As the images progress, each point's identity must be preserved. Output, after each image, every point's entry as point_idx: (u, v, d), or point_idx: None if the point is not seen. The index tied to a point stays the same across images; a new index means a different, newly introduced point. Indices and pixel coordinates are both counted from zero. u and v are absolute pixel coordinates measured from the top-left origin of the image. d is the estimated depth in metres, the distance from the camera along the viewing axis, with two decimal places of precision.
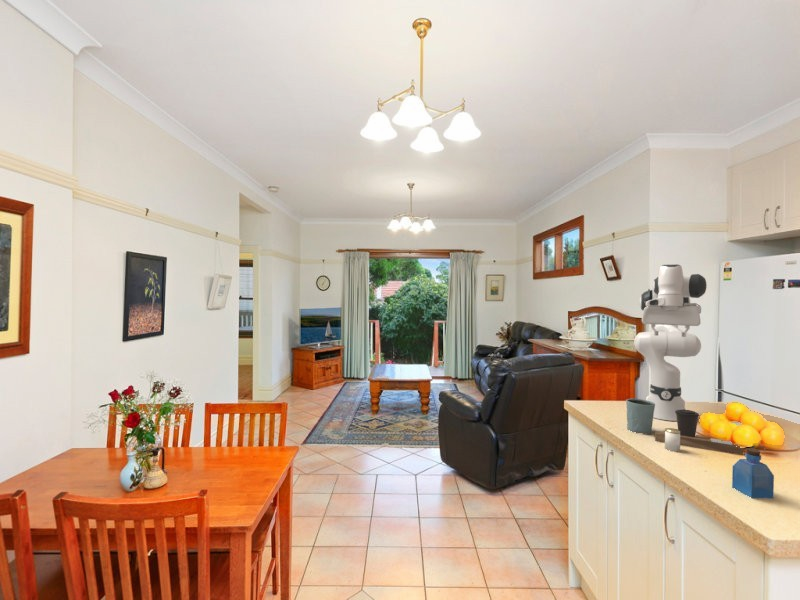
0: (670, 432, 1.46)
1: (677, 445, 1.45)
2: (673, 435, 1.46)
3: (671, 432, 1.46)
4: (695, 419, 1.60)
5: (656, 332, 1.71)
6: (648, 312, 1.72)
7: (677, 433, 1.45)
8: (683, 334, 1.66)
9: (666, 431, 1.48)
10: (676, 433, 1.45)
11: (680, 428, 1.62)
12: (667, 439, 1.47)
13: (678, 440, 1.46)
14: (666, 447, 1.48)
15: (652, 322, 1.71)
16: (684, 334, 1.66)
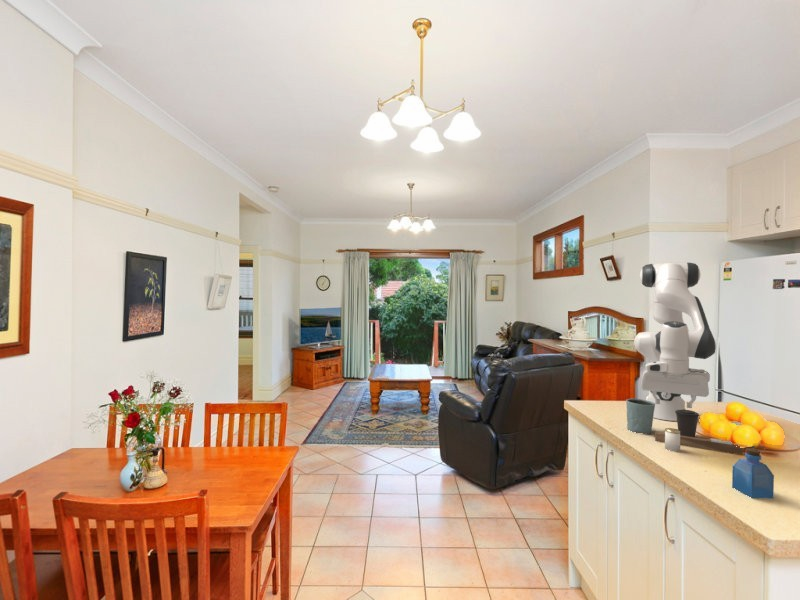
0: (670, 432, 1.46)
1: (677, 445, 1.45)
2: (673, 435, 1.46)
3: (671, 432, 1.46)
4: (695, 419, 1.59)
5: (657, 401, 1.49)
6: (649, 377, 1.50)
7: (677, 433, 1.45)
8: (688, 405, 1.44)
9: (666, 431, 1.48)
10: (676, 433, 1.45)
11: (680, 428, 1.62)
12: (667, 439, 1.47)
13: (678, 440, 1.46)
14: (666, 447, 1.48)
15: (653, 389, 1.49)
16: (690, 405, 1.44)
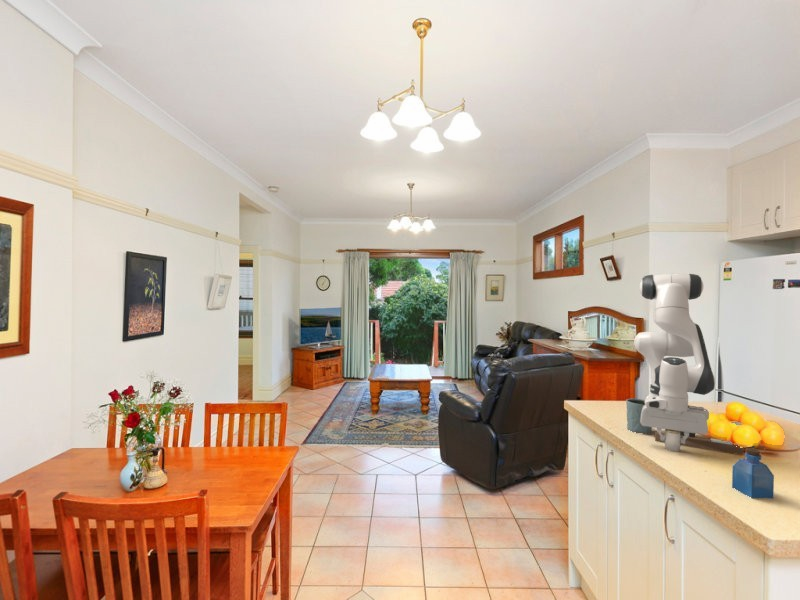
0: (670, 432, 1.46)
1: (677, 445, 1.45)
2: (673, 435, 1.46)
3: (671, 432, 1.46)
4: None
5: (662, 437, 1.48)
6: (648, 413, 1.50)
7: (677, 433, 1.45)
8: (682, 441, 1.46)
9: (666, 431, 1.48)
10: (676, 433, 1.45)
11: None
12: (667, 439, 1.47)
13: (678, 440, 1.46)
14: (666, 447, 1.48)
15: (652, 425, 1.49)
16: (683, 441, 1.45)
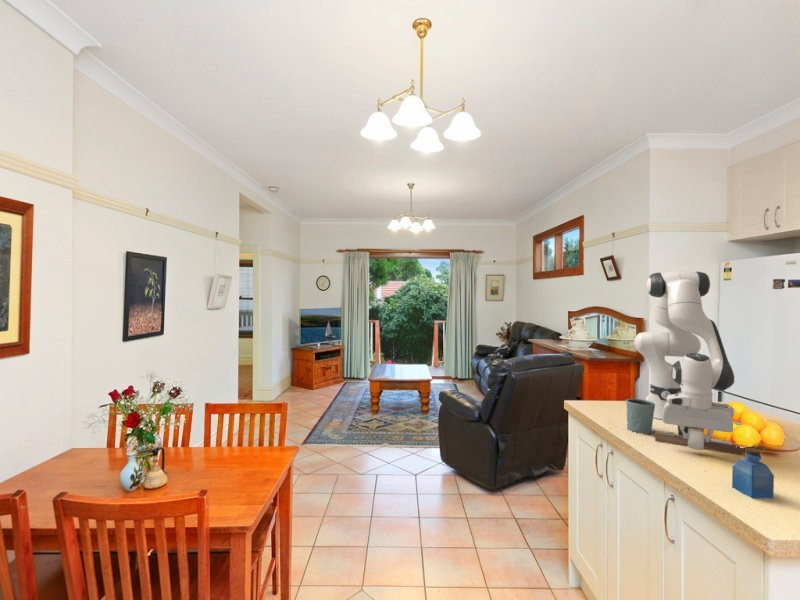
0: (693, 430, 1.43)
1: (701, 443, 1.42)
2: (697, 433, 1.42)
3: (695, 430, 1.43)
4: None
5: (685, 435, 1.45)
6: (670, 411, 1.46)
7: (701, 431, 1.42)
8: (705, 439, 1.42)
9: (689, 429, 1.44)
10: (700, 431, 1.42)
11: None
12: (690, 437, 1.44)
13: (702, 438, 1.42)
14: (689, 445, 1.44)
15: (675, 423, 1.46)
16: (707, 439, 1.42)
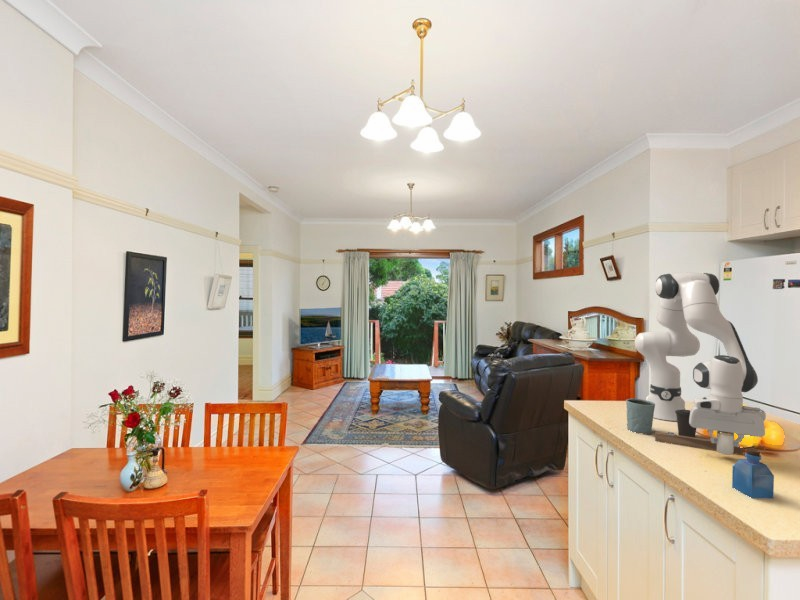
0: (723, 434, 1.39)
1: (731, 448, 1.38)
2: (726, 437, 1.38)
3: (724, 434, 1.38)
4: None
5: (714, 440, 1.41)
6: (699, 414, 1.42)
7: (731, 435, 1.38)
8: (736, 444, 1.38)
9: (718, 433, 1.40)
10: (730, 435, 1.38)
11: (680, 428, 1.62)
12: (720, 441, 1.40)
13: (732, 442, 1.38)
14: (718, 450, 1.40)
15: (703, 427, 1.42)
16: (737, 444, 1.38)
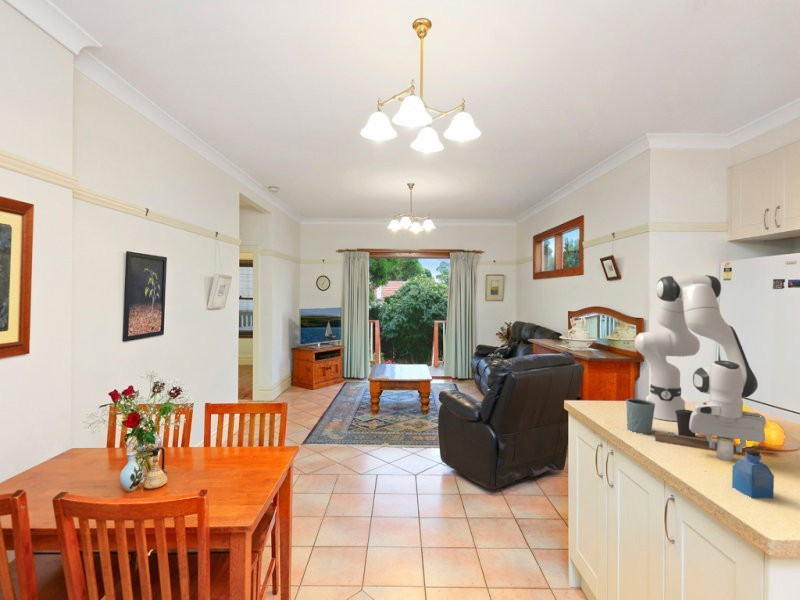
0: (723, 440, 1.39)
1: (731, 454, 1.38)
2: (726, 443, 1.38)
3: (724, 440, 1.39)
4: None
5: (712, 445, 1.41)
6: (699, 420, 1.42)
7: (731, 441, 1.38)
8: (738, 450, 1.38)
9: (718, 439, 1.40)
10: (730, 441, 1.38)
11: (680, 428, 1.62)
12: (720, 447, 1.40)
13: (732, 448, 1.38)
14: (718, 456, 1.40)
15: (703, 432, 1.42)
16: (739, 450, 1.38)
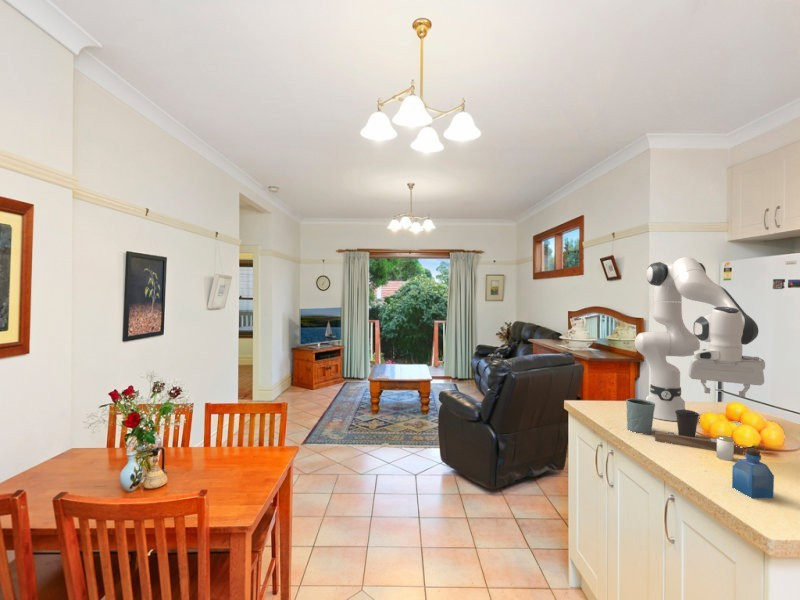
0: (723, 440, 1.39)
1: (731, 454, 1.38)
2: (726, 443, 1.38)
3: (724, 440, 1.39)
4: (695, 419, 1.59)
5: (707, 390, 1.42)
6: (698, 366, 1.43)
7: (731, 441, 1.38)
8: (741, 394, 1.38)
9: (718, 439, 1.40)
10: (730, 441, 1.38)
11: (680, 428, 1.62)
12: (720, 447, 1.40)
13: (732, 448, 1.38)
14: (718, 456, 1.40)
15: (703, 378, 1.42)
16: (743, 394, 1.38)
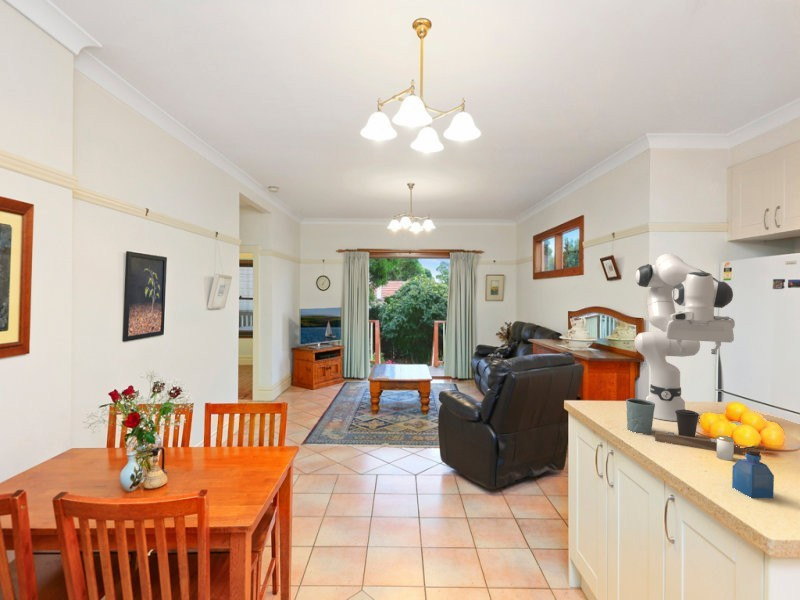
0: (723, 440, 1.39)
1: (731, 454, 1.38)
2: (726, 443, 1.38)
3: (724, 440, 1.39)
4: (695, 419, 1.60)
5: (683, 349, 1.54)
6: (674, 326, 1.54)
7: (731, 441, 1.38)
8: (713, 351, 1.49)
9: (718, 439, 1.40)
10: (730, 441, 1.38)
11: (680, 428, 1.62)
12: (720, 447, 1.40)
13: (732, 448, 1.38)
14: (718, 456, 1.40)
15: (678, 338, 1.54)
16: (715, 351, 1.49)
